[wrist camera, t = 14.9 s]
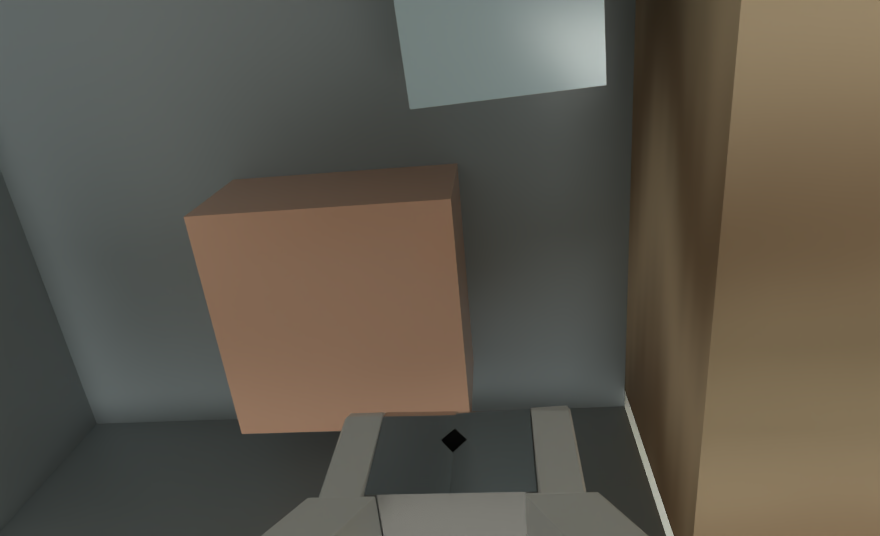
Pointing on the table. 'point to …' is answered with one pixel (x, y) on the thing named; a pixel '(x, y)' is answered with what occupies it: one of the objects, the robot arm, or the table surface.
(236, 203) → the tile terracotta
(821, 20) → the wooden block
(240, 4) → the tray
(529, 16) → the tile blue
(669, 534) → the table surface
